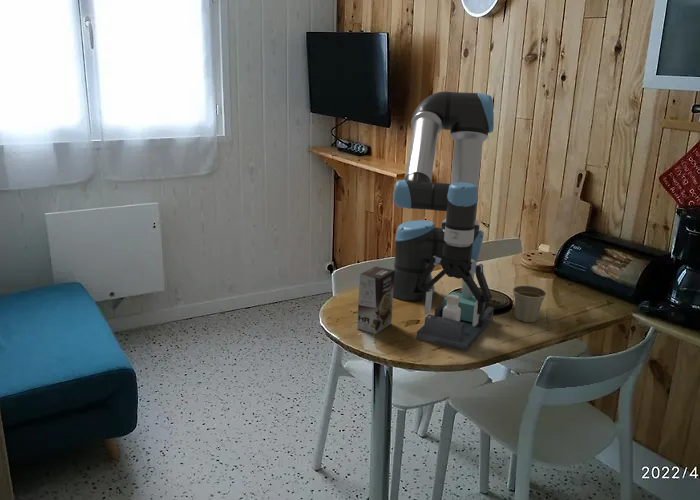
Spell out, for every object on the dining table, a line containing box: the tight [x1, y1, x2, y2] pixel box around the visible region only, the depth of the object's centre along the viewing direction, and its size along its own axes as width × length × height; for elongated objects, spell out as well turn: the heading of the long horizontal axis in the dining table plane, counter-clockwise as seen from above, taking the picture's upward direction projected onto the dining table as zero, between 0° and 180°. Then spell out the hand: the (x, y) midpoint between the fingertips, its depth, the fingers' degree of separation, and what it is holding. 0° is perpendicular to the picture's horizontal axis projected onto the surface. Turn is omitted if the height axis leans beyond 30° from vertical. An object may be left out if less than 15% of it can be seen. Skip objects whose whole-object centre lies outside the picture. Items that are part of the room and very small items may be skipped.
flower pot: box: [512, 285, 547, 323], centre depth 178 cm, size 9×9×9 cm
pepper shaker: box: [442, 294, 461, 321], centre depth 164 cm, size 4×4×10 cm
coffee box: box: [356, 266, 395, 335], centre depth 168 cm, size 9×6×16 cm
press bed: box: [415, 302, 495, 353], centre depth 169 cm, size 14×24×6 cm, turn 151°
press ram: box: [442, 259, 486, 322], centre depth 172 cm, size 10×7×16 cm
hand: (450, 318), depth 164 cm, fingers open, 13 cm apart
